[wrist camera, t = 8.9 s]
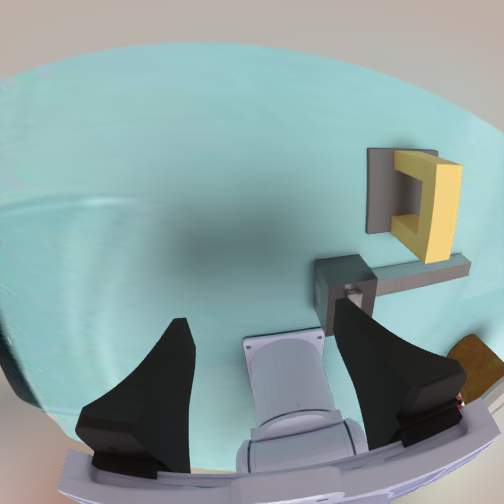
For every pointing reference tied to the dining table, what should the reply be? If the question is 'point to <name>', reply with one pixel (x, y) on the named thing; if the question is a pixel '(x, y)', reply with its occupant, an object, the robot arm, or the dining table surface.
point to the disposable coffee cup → (480, 372)
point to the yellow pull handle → (429, 205)
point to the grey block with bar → (374, 281)
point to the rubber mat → (390, 190)
